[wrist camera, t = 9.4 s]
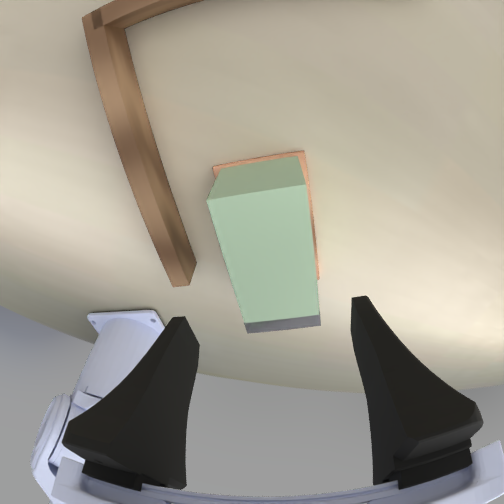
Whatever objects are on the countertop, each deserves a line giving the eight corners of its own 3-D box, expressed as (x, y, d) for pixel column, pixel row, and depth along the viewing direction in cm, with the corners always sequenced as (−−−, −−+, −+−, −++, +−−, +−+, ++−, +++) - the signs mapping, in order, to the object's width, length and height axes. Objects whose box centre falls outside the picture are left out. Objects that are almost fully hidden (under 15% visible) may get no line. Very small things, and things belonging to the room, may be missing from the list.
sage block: (298, 155, 16) (307, 184, 13) (313, 278, 21) (320, 325, 18) (220, 168, 17) (205, 200, 13) (251, 286, 22) (247, 333, 18)
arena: (428, 259, 20) (441, 280, 18) (193, 292, 23) (186, 315, 21) (414, -28, 9) (432, -38, 7) (103, 20, 12) (81, 17, 10)
